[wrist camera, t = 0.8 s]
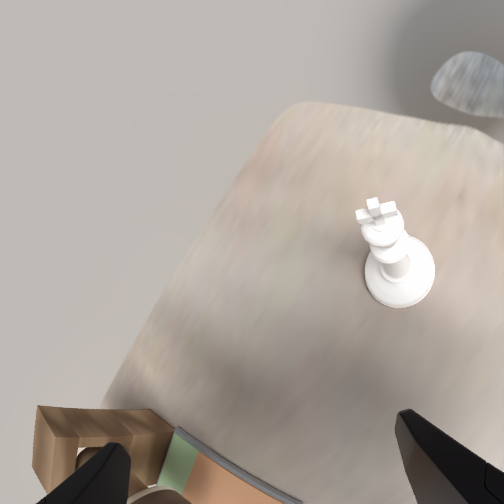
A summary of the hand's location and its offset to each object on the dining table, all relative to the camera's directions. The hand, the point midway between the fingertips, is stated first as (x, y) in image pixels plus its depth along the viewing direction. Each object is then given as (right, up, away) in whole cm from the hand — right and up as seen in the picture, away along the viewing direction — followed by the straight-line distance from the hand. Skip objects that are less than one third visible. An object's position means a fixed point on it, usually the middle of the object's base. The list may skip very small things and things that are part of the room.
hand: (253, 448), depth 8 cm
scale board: (-3, -15, +12) cm, 19 cm away
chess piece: (+10, +5, +11) cm, 16 cm away
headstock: (-10, -13, +17) cm, 23 cm away
